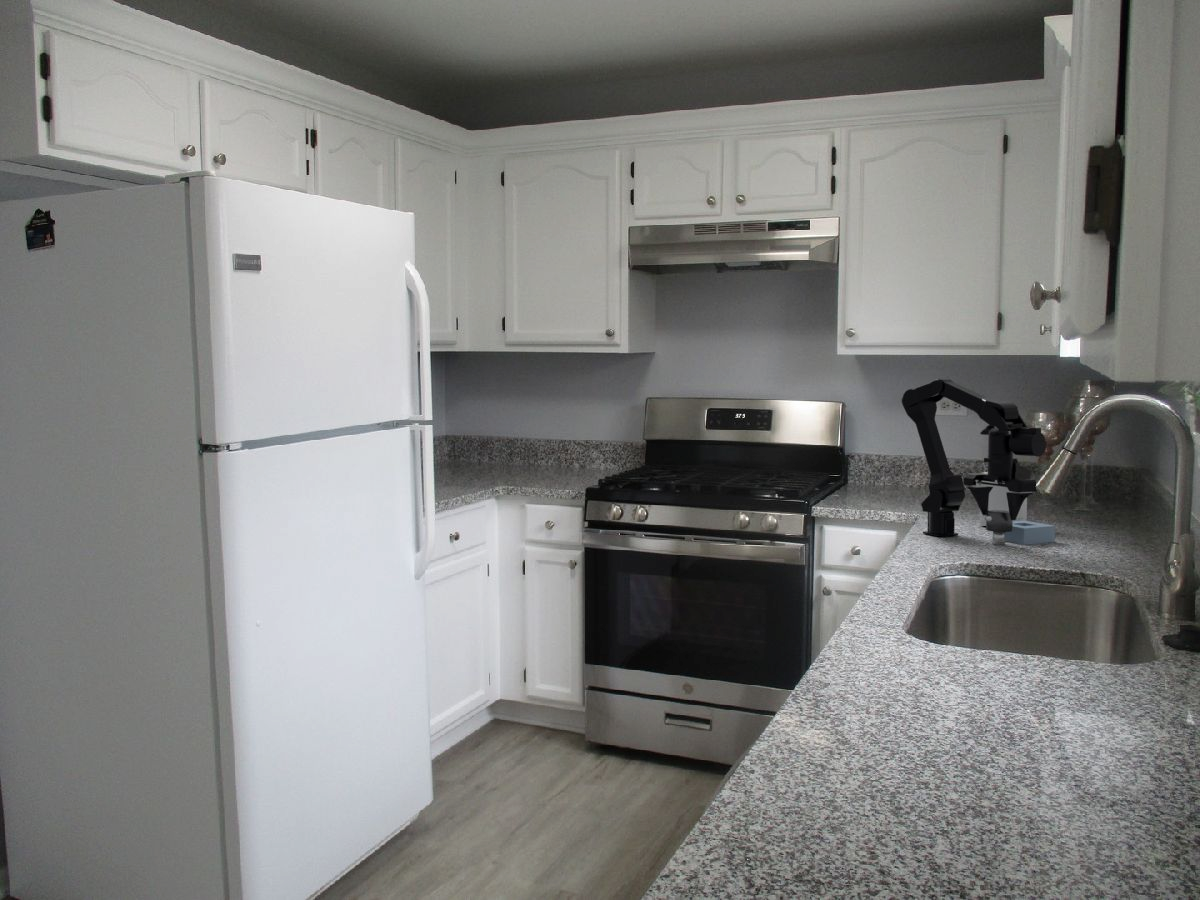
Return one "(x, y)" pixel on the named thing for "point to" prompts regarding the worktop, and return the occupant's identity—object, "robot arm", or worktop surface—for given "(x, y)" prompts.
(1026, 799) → the worktop surface
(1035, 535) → the block
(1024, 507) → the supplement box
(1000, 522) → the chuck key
